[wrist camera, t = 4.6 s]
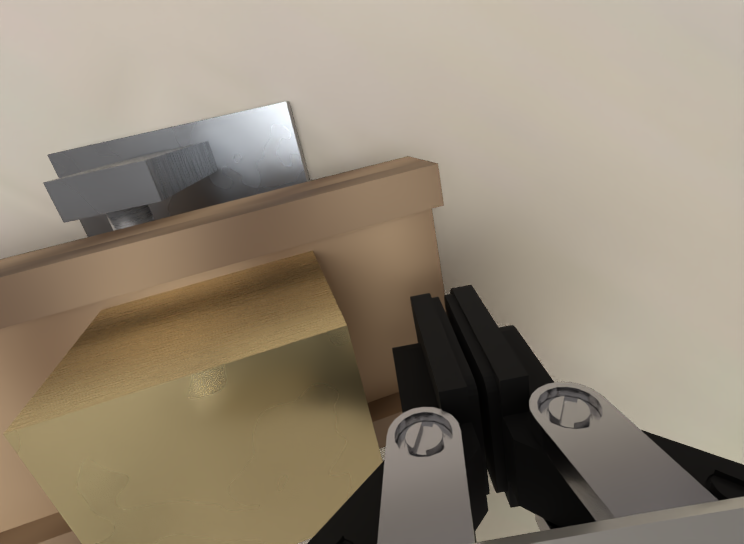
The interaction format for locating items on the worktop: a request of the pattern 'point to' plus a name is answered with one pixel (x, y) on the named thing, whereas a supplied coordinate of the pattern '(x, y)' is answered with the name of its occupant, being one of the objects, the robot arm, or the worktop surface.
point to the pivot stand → (177, 169)
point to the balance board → (214, 259)
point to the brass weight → (205, 415)
